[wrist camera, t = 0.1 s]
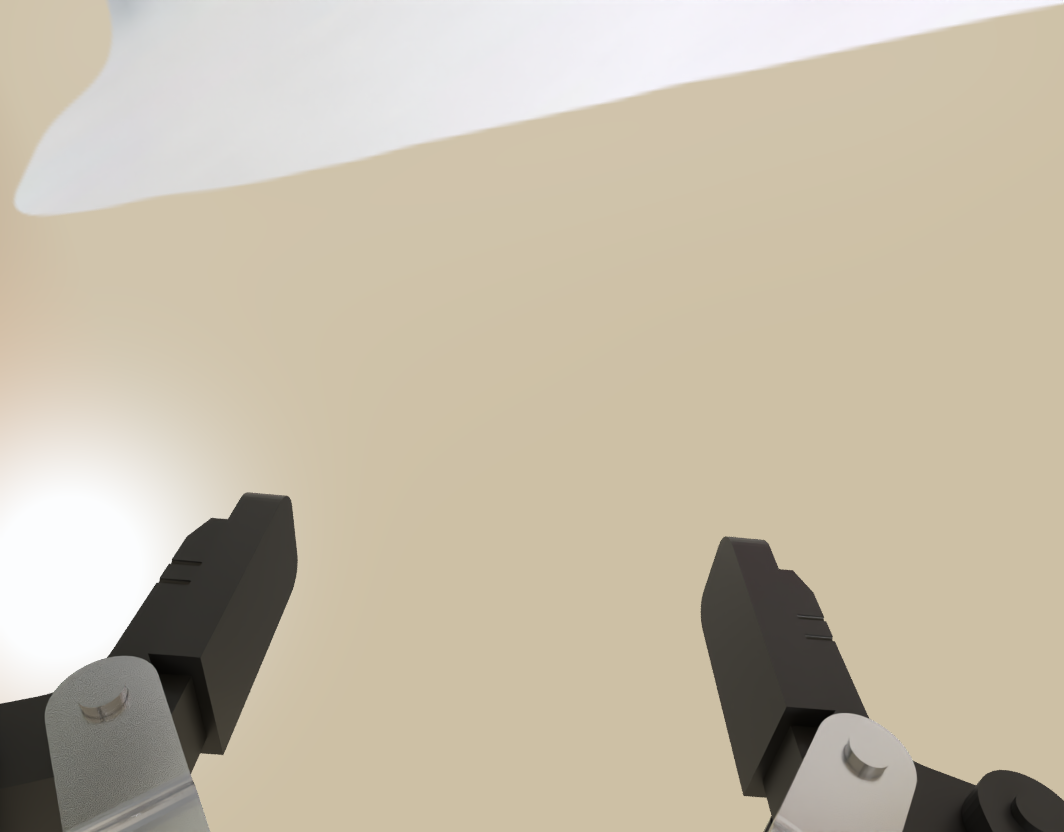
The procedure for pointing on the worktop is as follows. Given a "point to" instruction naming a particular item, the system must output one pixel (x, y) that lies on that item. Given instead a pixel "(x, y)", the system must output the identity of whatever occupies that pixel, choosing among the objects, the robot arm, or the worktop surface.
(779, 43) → the worktop surface
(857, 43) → the worktop surface
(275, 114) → the worktop surface
